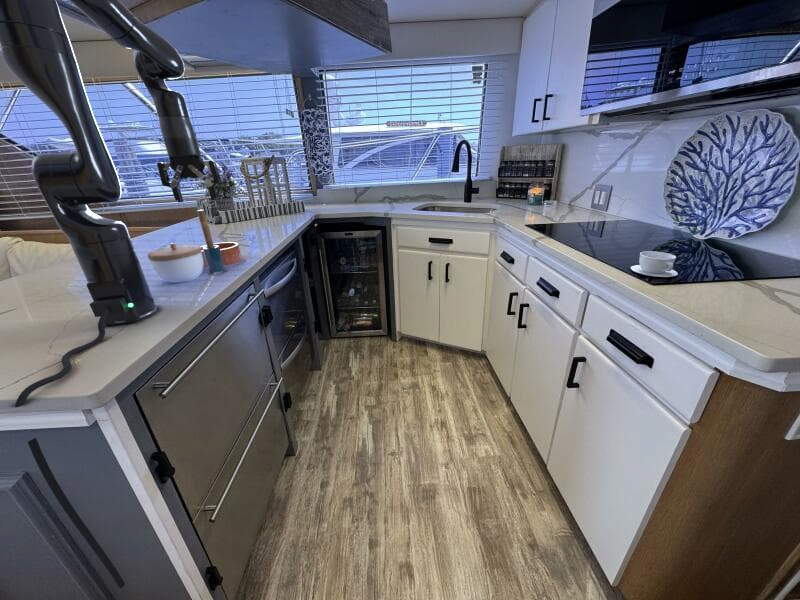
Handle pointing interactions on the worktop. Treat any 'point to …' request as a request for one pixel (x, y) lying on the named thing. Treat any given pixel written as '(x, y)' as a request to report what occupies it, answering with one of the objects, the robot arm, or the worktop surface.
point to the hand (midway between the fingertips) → (197, 201)
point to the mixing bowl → (226, 253)
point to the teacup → (655, 264)
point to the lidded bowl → (177, 263)
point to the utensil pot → (214, 259)
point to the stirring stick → (205, 228)
